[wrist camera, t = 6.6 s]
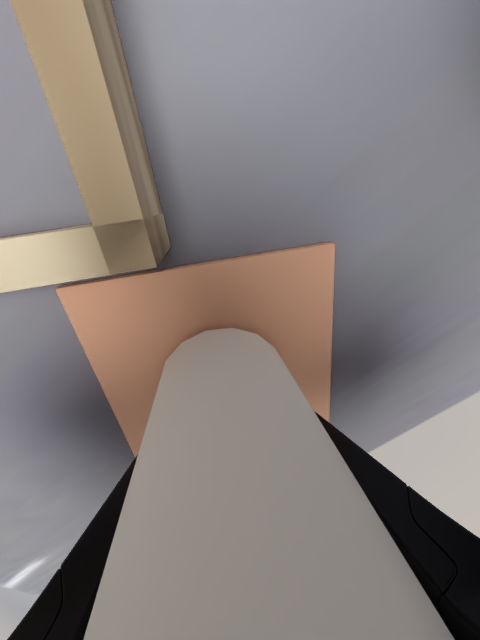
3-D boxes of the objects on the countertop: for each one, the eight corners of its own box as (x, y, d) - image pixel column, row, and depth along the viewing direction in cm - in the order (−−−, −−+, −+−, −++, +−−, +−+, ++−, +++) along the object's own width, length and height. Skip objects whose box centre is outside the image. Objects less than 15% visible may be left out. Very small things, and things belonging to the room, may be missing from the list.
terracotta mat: (330, 241, 11) (335, 243, 10) (325, 426, 15) (328, 432, 15) (60, 285, 10) (54, 289, 9) (143, 466, 15) (142, 473, 14)
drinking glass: (123, 344, 10) (-429, 1376, 1) (280, 298, 10) (799, 923, 1) (180, 449, 13) (139, 978, 4) (301, 412, 13) (512, 845, 4)
